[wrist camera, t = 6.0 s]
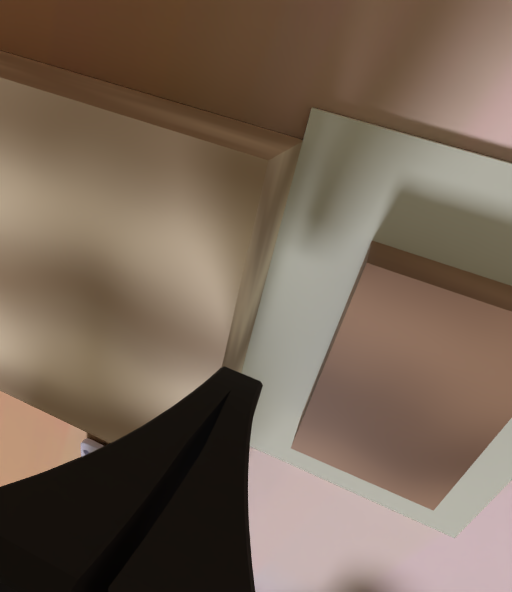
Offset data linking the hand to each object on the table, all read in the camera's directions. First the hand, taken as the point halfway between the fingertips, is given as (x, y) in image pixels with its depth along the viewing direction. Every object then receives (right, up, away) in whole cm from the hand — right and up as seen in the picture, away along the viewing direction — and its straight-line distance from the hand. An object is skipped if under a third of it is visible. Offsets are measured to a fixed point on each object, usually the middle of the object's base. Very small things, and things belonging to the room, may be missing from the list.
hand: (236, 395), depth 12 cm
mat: (+6, 0, +3) cm, 7 cm away
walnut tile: (+6, -1, +1) cm, 6 cm away
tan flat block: (-9, +6, +6) cm, 12 cm away
